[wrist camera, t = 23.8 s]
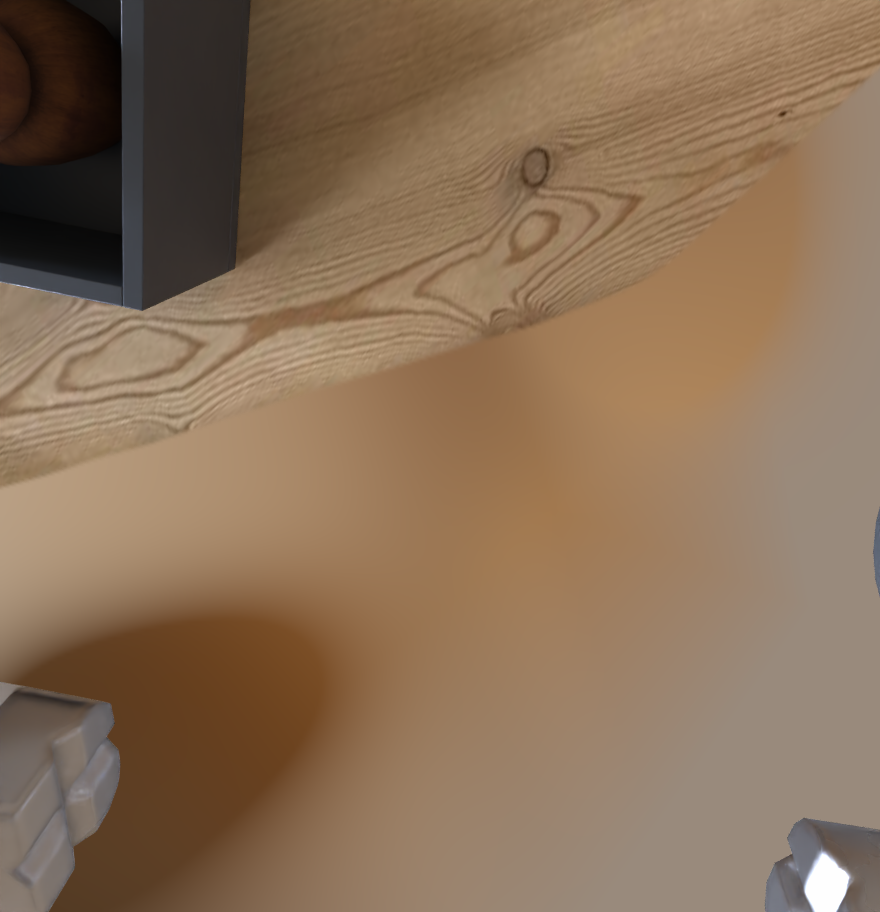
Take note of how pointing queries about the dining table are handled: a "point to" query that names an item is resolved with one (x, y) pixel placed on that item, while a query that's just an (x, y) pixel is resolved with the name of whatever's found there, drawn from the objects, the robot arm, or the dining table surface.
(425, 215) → the dining table surface
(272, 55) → the dining table surface
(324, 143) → the dining table surface
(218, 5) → the tote
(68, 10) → the wooden figurine
